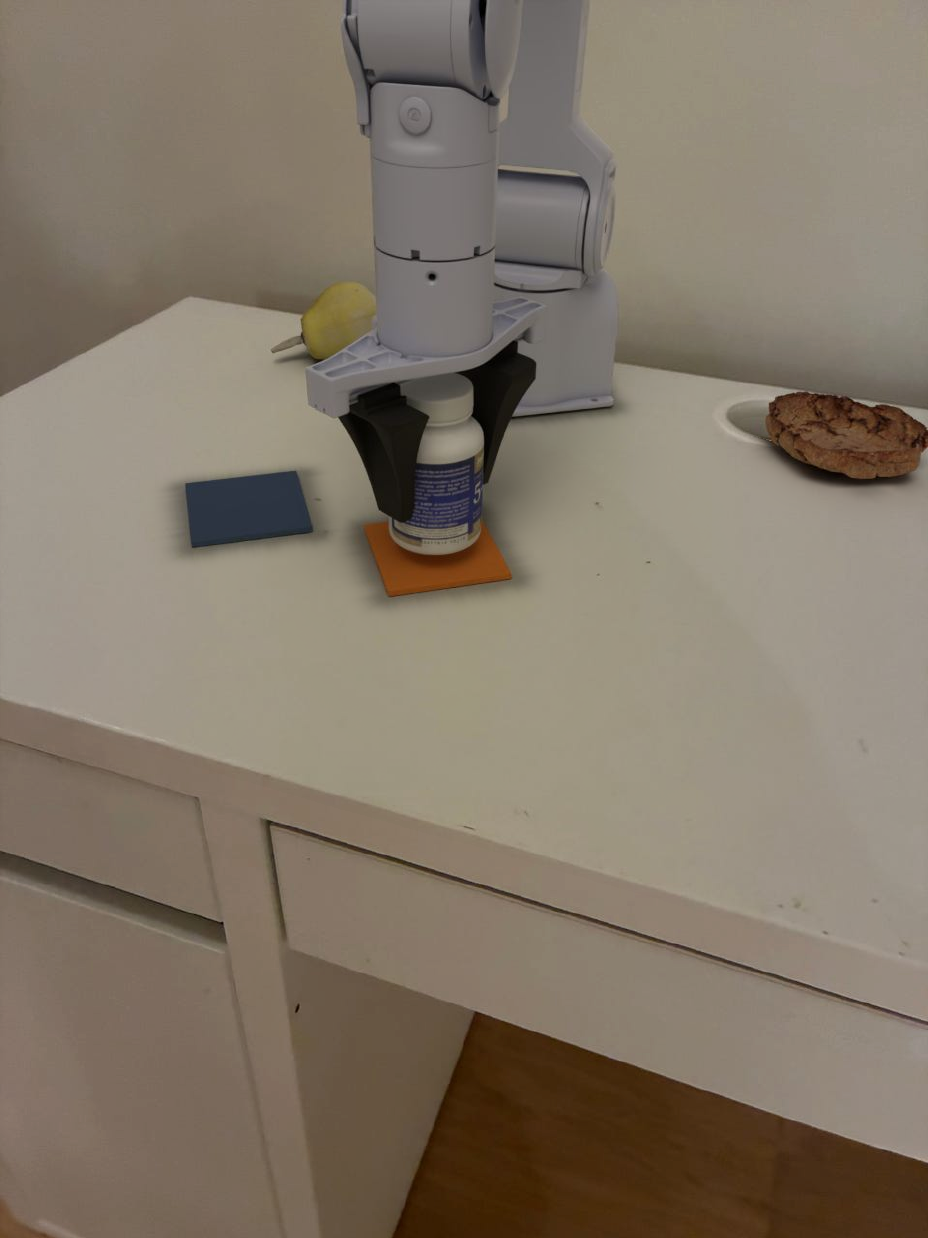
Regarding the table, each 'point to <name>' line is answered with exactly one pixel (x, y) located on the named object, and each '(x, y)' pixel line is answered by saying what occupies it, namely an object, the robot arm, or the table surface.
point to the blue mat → (246, 508)
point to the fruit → (335, 320)
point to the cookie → (846, 434)
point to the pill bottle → (444, 469)
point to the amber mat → (434, 563)
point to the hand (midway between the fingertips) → (435, 495)
